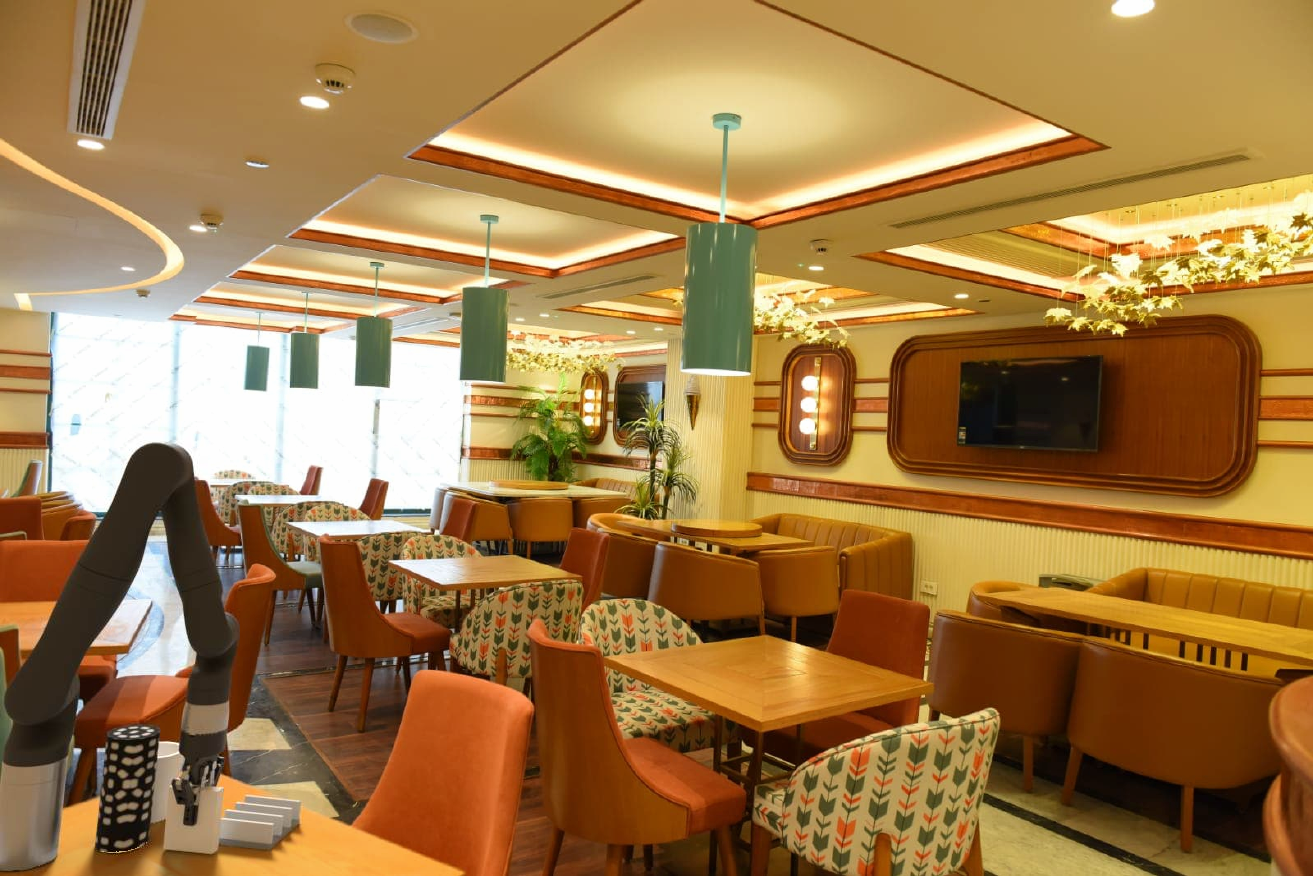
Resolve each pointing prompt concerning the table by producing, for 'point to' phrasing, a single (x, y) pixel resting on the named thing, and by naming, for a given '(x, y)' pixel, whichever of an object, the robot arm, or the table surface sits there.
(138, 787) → the spotted tube
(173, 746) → the foam cup
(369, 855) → the table surface
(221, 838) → the dish rack
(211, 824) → the cream upright slab
